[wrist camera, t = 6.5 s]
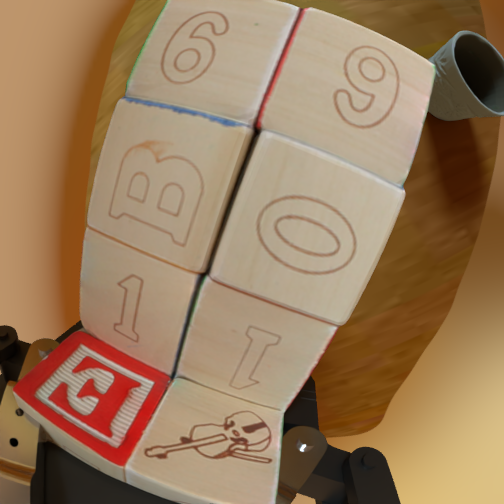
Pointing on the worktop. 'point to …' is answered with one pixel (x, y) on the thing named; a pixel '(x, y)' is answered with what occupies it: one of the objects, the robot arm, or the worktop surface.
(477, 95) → the blue cup
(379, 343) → the worktop surface
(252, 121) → the stack of blocks
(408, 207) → the worktop surface
